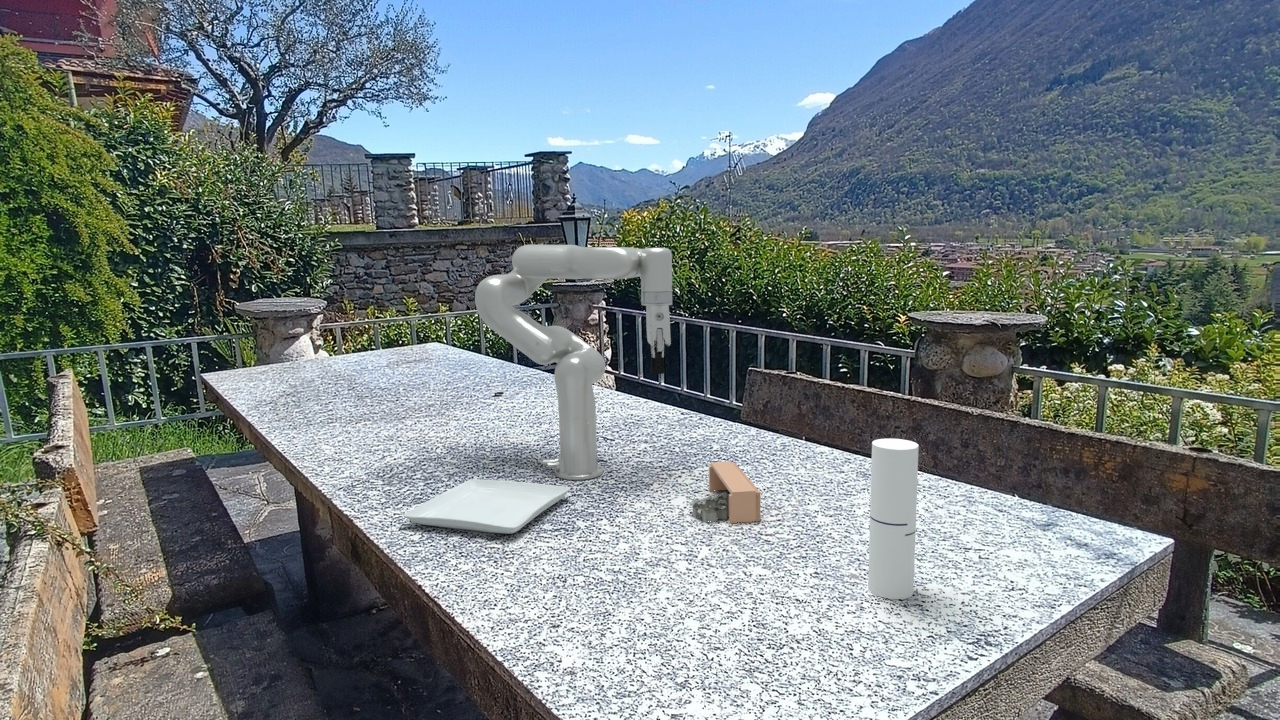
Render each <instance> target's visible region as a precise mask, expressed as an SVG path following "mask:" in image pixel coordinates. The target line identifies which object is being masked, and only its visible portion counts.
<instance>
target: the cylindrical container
mask: <svg viewBox="0 0 1280 720" xmlns="http://www.w3.org/2000/svg"><path fill="white" fill-rule="evenodd" d="M919 448H920V447H919V444H918V443H917V442H915V441H912V440H908V439H902V438H878V439H874V440H873V441H872V442H871V465H870V466H871V469H870V470H871V471H870V473H871V474H870V503H869V504H870V509H869V515H870V516H869V537H868V538H869V543H868V545H869V547H868V549H869V550H868V575H867V577H868V578H867V579H868V580H867V581H868V582H867V587H868V590H870V591H871V592H872V594H873V595H875V596H877V597H880V598H882V597H884V598H883V599H886V598H888V599H887V600H893V599H901V600H906V599H909V598H911V597H912V596H913V595H914V582H915V581H914V580H915V579H914V578H915V560H916V559H915V556H916V555H915V554H916V553H915V551H916V549H915V548H916V530H917V528H916V527H917V526H916V525H917V505H918V504H917V503H918V502H917V500H918V499H917V498H918V478H919V477H918V475H919V473H918V472H919V471H918V470H919V469H918V468H919ZM870 591H869V592H870Z"/></svg>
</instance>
